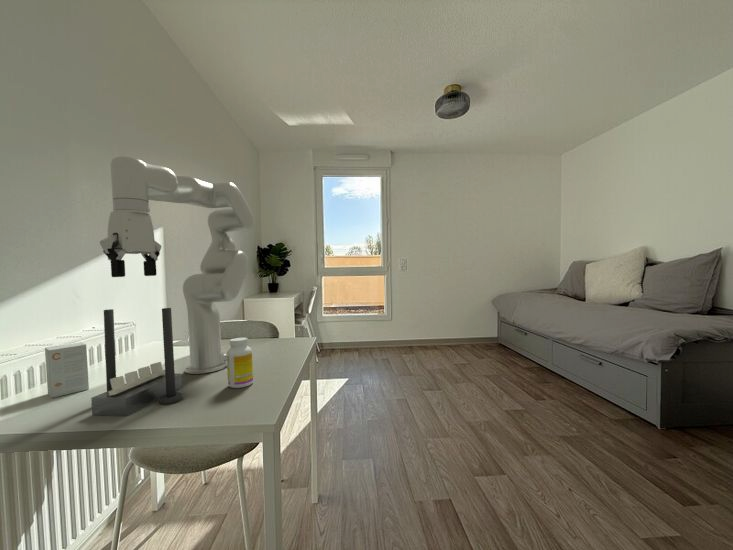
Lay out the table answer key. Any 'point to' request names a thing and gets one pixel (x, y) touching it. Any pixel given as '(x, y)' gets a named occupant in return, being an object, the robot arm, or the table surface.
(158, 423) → the table surface
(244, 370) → the supplement bottle
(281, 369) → the table surface
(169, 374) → the cable upright
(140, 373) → the breaker paddles
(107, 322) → the cable upright
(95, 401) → the breaker panel
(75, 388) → the small box
